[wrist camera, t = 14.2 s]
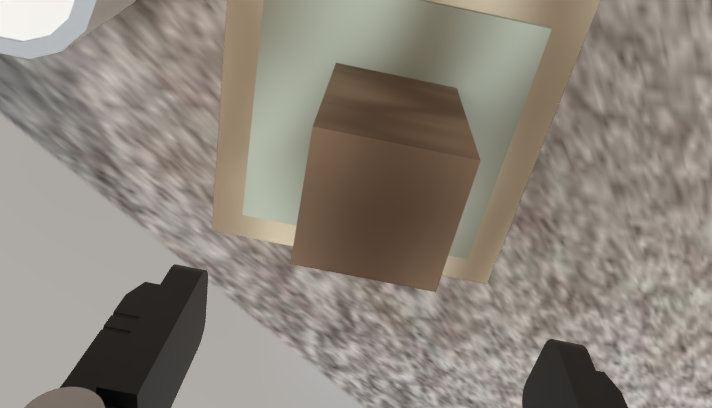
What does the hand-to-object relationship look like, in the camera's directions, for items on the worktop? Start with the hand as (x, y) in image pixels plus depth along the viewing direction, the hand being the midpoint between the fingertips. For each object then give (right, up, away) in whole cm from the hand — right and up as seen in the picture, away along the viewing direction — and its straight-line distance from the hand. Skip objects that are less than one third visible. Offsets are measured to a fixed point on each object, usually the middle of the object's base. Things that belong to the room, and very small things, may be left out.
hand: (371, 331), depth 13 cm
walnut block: (+1, +6, +10) cm, 12 cm away
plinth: (+1, +8, +14) cm, 16 cm away
